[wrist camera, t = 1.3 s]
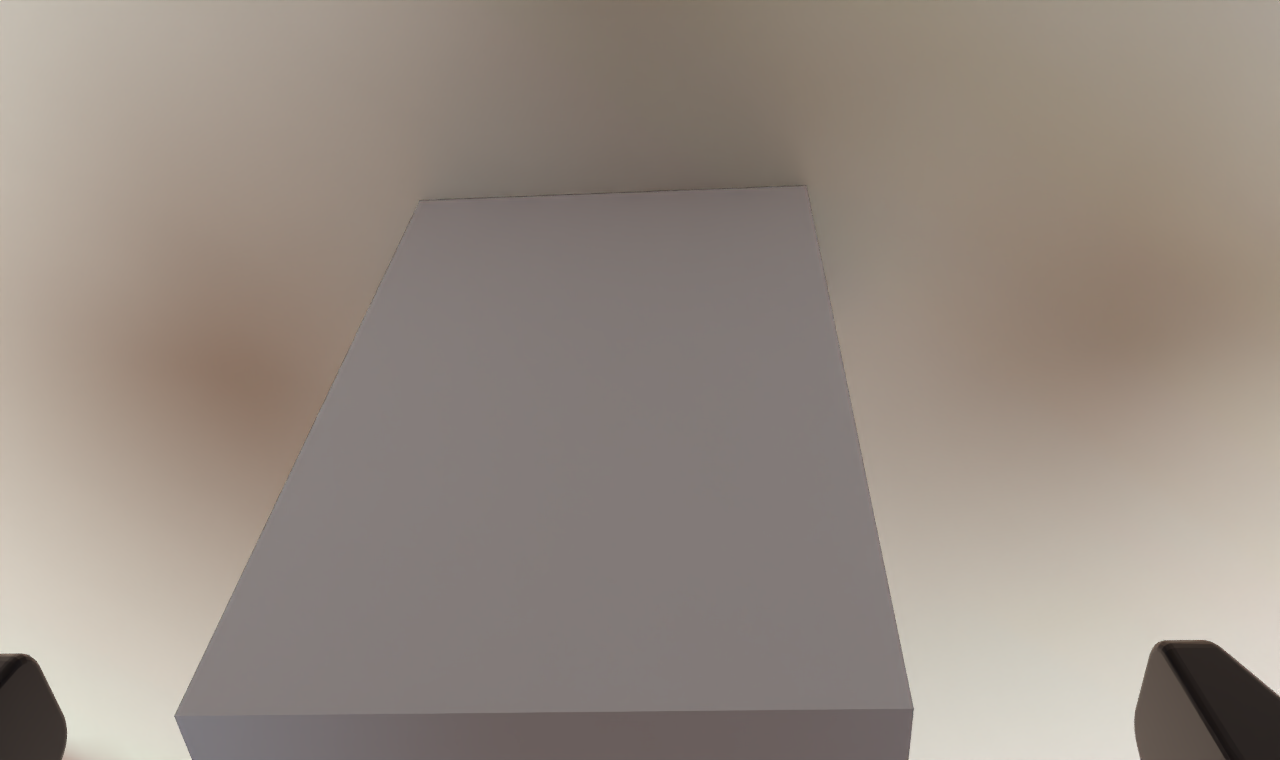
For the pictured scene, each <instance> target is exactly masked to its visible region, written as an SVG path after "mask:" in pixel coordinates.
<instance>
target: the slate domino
mask: <svg viewBox="0 0 1280 760" xmlns="http://www.w3.org/2000/svg"><path fill="white" fill-rule="evenodd" d="M913 710H914V708H913V703H912V698H911V693H910V688H909V684H908V679H907V674H906V669H905V664H904V659H903V654H902V649H901V644H900V640H899V635H898V630H897V625H896V620H895V615H894V610H893V605H892V601H891V596H890V591H889V586H888V581H887V576H886V571H885V566H884V562H883V557H882V552H881V547H880V542H879V537H878V532H877V527H876V523H875V518H874V513H873V508H872V503H871V498H870V493H869V488H868V484H867V479H866V474H865V469H864V464H863V459H862V454H861V449H860V445H859V440H858V435H857V430H856V425H855V420H854V415H853V410H852V406H851V401H850V396H849V391H848V386H847V381H846V376H845V371H844V366H843V362H842V357H841V352H840V347H839V342H838V337H837V332H836V327H835V323H834V318H833V313H832V308H831V303H830V298H829V293H828V288H827V284H826V279H825V274H824V269H823V264H822V259H821V254H820V249H819V245H818V240H817V235H816V230H815V225H814V220H813V215H812V210H811V206H810V201H809V196H808V191H807V186H782V187H756V188H730V189H704V190H679V191H653V192H627V193H602V194H576V195H550V196H524V197H499V198H473V199H447V200H421V201H419V203H418V205H417V207H416V210H415V212H414V214H413V216H412V218H411V220H410V222H409V224H408V226H407V228H406V231H405V233H404V235H403V237H402V239H401V241H400V243H399V245H398V247H397V249H396V252H395V254H394V256H393V258H392V260H391V262H390V264H389V266H388V268H387V270H386V273H385V275H384V277H383V279H382V281H381V283H380V285H379V287H378V289H377V291H376V294H375V296H374V298H373V300H372V302H371V304H370V306H369V308H368V310H367V312H366V315H365V317H364V319H363V321H362V323H361V325H360V327H359V329H358V331H357V333H356V336H355V338H354V340H353V342H352V344H351V346H350V348H349V350H348V352H347V354H346V357H345V359H344V361H343V363H342V365H341V367H340V369H339V371H338V373H337V375H336V378H335V380H334V382H333V384H332V386H331V388H330V390H329V392H328V394H327V396H326V399H325V401H324V403H323V405H322V407H321V409H320V411H319V413H318V415H317V417H316V420H315V422H314V424H313V426H312V428H311V430H310V432H309V434H308V436H307V438H306V441H305V443H304V445H303V447H302V449H301V451H300V453H299V455H298V457H297V459H296V462H295V464H294V466H293V468H292V470H291V472H290V474H289V476H288V478H287V481H286V483H285V485H284V487H283V489H282V491H281V493H280V495H279V497H278V499H277V502H276V504H275V506H274V508H273V510H272V512H271V514H270V516H269V518H268V520H267V523H266V525H265V527H264V529H263V531H262V533H261V535H260V537H259V539H258V541H257V544H256V546H255V548H254V550H253V552H252V554H251V556H250V558H249V560H248V562H247V565H246V567H245V569H244V571H243V573H242V575H241V577H240V579H239V581H238V583H237V586H236V588H235V590H234V592H233V594H232V596H231V598H230V600H229V602H228V604H227V607H226V609H225V611H224V613H223V615H222V617H221V619H220V621H219V623H218V625H217V628H216V630H215V632H214V634H213V636H212V638H211V640H210V642H209V644H208V646H207V649H206V651H205V653H204V655H203V657H202V659H201V661H200V663H199V665H198V667H197V670H196V672H195V674H194V676H193V678H192V680H191V682H190V684H189V686H188V688H187V691H186V693H185V695H184V697H183V699H182V701H181V703H180V705H179V707H178V709H177V712H176V714H175V716H174V717H175V719H176V721H177V724H178V726H179V729H180V731H181V734H182V736H183V739H184V741H185V743H186V746H187V748H188V751H189V753H190V756H191V758H192V760H908V759H909V749H910V739H911V730H912V720H913Z"/></svg>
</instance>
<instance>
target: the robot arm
mask: <svg viewBox="0 0 1280 760" xmlns="http://www.w3.org/2000/svg"><path fill="white" fill-rule="evenodd" d="M1134 726H1135V737H1136V742H1137V747H1138V751H1139V755H1140V759H1141V760H1280V696H1279V695H1277V694H1276V693H1275V692H1274V691H1273V690H1271V689H1270V688H1269V687H1268V686H1267V685H1265V684H1264V683H1263V682H1262V681H1261V680H1259V679H1258V678H1257V677H1256V676H1255V675H1253V674H1252V673H1251V672H1250V671H1249V670H1247V669H1246V668H1245V667H1244V666H1243V665H1242V664H1240V663H1239V662H1238V661H1237V660H1236V659H1234V658H1233V657H1232V656H1231V655H1230V654H1228V653H1227V652H1226V651H1225V650H1224V649H1222V648H1221V647H1220V646H1218V645H1216V644H1214V643H1212V642H1210V641H1206V640H1164V641H1161V642H1158V643H1157V644H1156V645H1155V646H1154V647H1153V648H1152V651H1151V653H1150V656H1149V659H1148V663H1147V667H1146V671H1145V675H1144V679H1143V683H1142V687H1141V690H1140V694H1139V698H1138V702H1137V706H1136V710H1135V719H1134ZM66 740H67V727H66V721H65V718H64V715H63V713H62V711H61V709H60V707H59V705H58V703H57V701H56V699H55V696H54V694H53V692H52V690H51V688H50V686H49V684H48V682H47V680H46V678H45V676H44V674H43V672H42V670H41V668H40V666H39V664H38V663H37V661H36V660H35V659H33V658H32V657H30V656H29V655H26V654H0V760H62V757H63V754H64V751H65V747H66Z"/></svg>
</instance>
